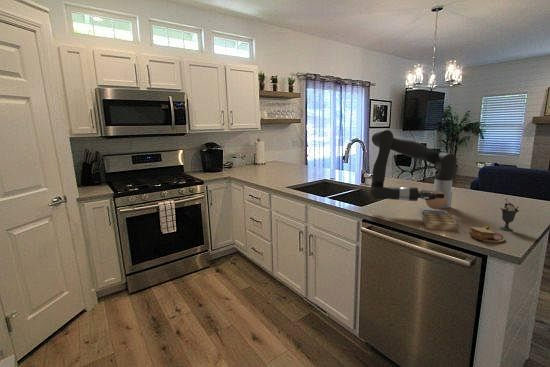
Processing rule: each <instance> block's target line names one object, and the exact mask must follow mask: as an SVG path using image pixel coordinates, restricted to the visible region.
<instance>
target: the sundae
mask: <svg viewBox="0 0 550 367" xmlns="http://www.w3.org/2000/svg"><path fill="white" fill-rule="evenodd" d="M504 200H505V201H506V202H505V203H504V205H503V206H502V207H500V210H501V214H502V215H501V217H502V221H503V222H505V224H504V226H501V227H499V229H500V230H502V231H505V232H513V231H514V229H513V228H511V227H509V225H510V223H512V222H513V221H514V220H515V217H516V214H517V213H519V212H520V210H519V207H520V206H517V207H516V206H515V205H514V204H513V203H511V202H509V200H507V198H505V199H504ZM507 202H508V203H507Z"/></svg>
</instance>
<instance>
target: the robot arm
mask: <svg viewBox="0 0 550 367" xmlns="http://www.w3.org/2000/svg"><path fill="white" fill-rule="evenodd" d="M371 141H372V144H373V145H374V146H375V147H378V148H379V149H378V154H377V157H376V159H375V162H374V164H373V168H372V172H371V173H372V174H371V185H370V192H369V193H370V196H371V198H372V199H374V200H394V201H395V200H397V201H405V202H406V201H409V202H417V201H418V199H422V200H424V201H426V200H432V199H435V198H444V194H445V195H446V197H447V203H446V205H445V206H444V207H443V208H442V209H449V208H451V206H452V197H453V191H452V188H453V186H452V185H453V179H454V176H455V174H456V170H457V169H456V168H457V163H458V158H457V156H456V154H454V153H451V152H444V151H436V150H433V149H430V148H429V147H427V145H425V144H422V143H420V142H417V141H416V140H415V141H414V140H410V139H403V138H397V137H394V134H393V132H392V131H391V130H388V129H382V130H379V131H376V132H375V133H373V134H372V136H371ZM391 151H393V152H396V153H399V154H400V155H404V156H406V157H409V158H412V159H416V160H419V161H425V162H427V163H429V164H432V165H434V166H436V167H438V168H439V169H440V171H439V172H438V173H435V174H434V183H433V190H426V189H421V190H419V188H418V187H410V186H408V187H407V186H406V187H405V186H403V187H402V186H401V187H398V186H396V187H395V186H393V187H392V186H390V187H384V183H385V178H386V172H387V166H388V161H389V160H388V159H389V157H390V152H391ZM432 191H441V192H442V193H444V194H436V193H435V194H434V193H431V192H432ZM429 194H430V195H429ZM432 196H433V197H432Z"/></svg>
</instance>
